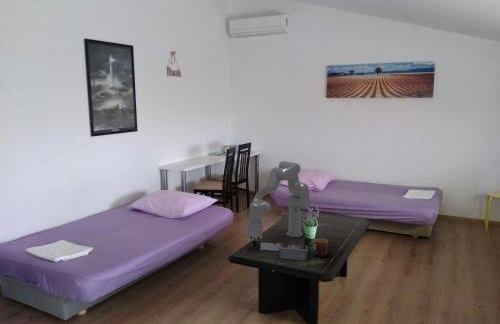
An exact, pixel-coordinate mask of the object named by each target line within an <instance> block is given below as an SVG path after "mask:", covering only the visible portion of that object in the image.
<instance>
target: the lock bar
mask: <svg viewBox="0 0 500 324" xmlns="http://www.w3.org/2000/svg"><path fill="white" fill-rule="evenodd" d="M280 244H281V243H277V241H273V243H272V242H260V249H261V250H273V251H272V252H274V251H279V247H280Z"/></svg>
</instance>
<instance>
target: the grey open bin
mask: <svg viewBox="0 0 500 324" xmlns="http://www.w3.org/2000/svg"><path fill="white" fill-rule="evenodd" d="M279 244H280V247H279V252H278V259H279V260H291V261H292V260H293V261H308V260H307V259H308V245H305V248H298V249H293V248H289V247H283V243H279Z"/></svg>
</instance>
